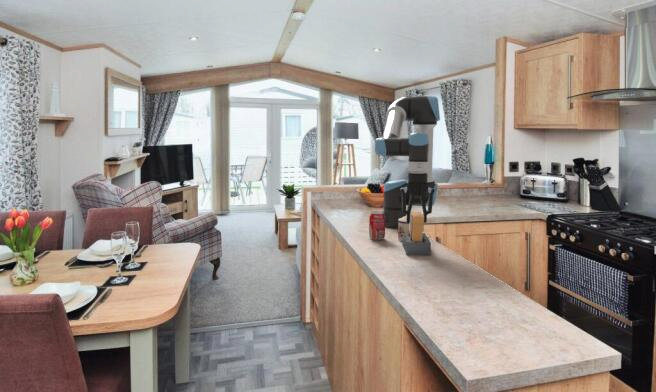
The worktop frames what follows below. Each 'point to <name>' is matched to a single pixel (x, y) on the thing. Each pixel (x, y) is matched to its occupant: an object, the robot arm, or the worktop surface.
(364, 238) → the worktop surface
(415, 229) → the peach eraser-shaped slab
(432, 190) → the robot arm
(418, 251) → the gray slotted block
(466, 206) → the worktop surface
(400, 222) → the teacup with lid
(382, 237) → the soda can
